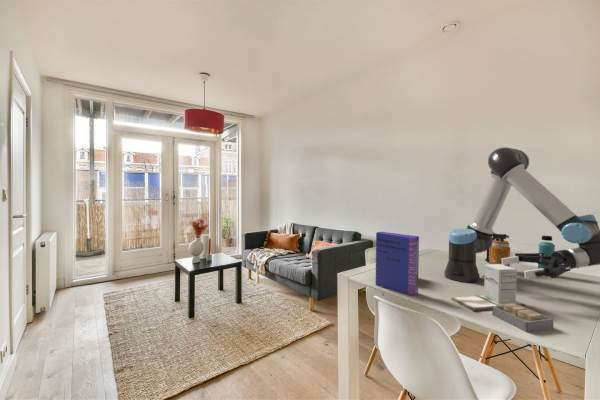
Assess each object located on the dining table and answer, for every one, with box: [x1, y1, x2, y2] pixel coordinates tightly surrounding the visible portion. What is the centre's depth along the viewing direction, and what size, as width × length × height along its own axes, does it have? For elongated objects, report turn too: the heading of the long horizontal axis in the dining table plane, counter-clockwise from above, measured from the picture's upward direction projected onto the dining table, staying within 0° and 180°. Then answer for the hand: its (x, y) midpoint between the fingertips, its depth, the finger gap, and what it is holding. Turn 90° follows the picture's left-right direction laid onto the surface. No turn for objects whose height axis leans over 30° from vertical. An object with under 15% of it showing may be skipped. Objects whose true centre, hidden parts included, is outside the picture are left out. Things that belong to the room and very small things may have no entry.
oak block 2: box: [518, 309, 541, 321], centre depth 91 cm, size 4×4×4 cm
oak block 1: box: [504, 304, 526, 317], centre depth 95 cm, size 4×4×4 cm
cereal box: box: [375, 231, 420, 297], centre depth 124 cm, size 17×5×24 cm, turn 42°
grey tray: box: [491, 304, 554, 333], centre depth 93 cm, size 12×10×4 cm
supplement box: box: [483, 263, 518, 303], centre depth 109 cm, size 7×7×13 cm
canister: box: [484, 232, 511, 267], centre depth 153 cm, size 9×11×20 cm
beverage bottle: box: [537, 235, 556, 270], centre depth 144 cm, size 6×7×20 cm
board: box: [451, 294, 526, 313], centre depth 108 cm, size 11×22×2 cm, turn 102°
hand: (512, 267), depth 115 cm, fingers open, 13 cm apart
